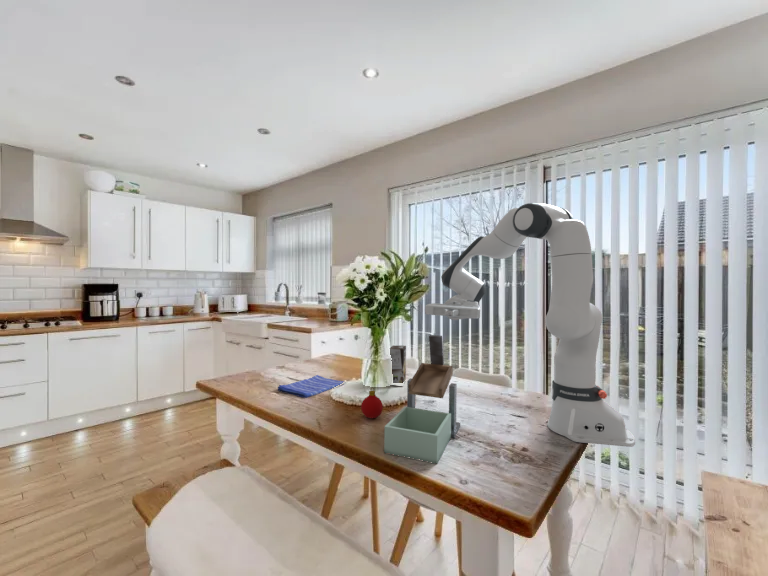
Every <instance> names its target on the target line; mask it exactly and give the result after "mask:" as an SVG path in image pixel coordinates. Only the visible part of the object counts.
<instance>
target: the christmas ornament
mask: <svg viewBox="0 0 768 576" xmlns="http://www.w3.org/2000/svg"><path fill="white" fill-rule="evenodd" d="M383 406H384V405H383V402H382V400H381V399H380V398H379V397H378V396H376V391H375V388H374V387H371V388H370V390H369V391H368V396H367V397H365V398H364V399H363V400H362V403H361V404H360V408H361V409H360V410H361V412H362V413H361V414H363V415H364V416H365V417H366V418H368V419H377V418H378V417H380V415H381V414H382V412H383V408H384V407H383Z"/></svg>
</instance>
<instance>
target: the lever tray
mask: <svg viewBox="0 0 768 576" xmlns="http://www.w3.org/2000/svg"><path fill="white" fill-rule="evenodd" d="M428 340H429V341H428V342H429V355H430V363H428V362H421V364H420V365H419V367H418V368H417V370H416V371H415V373H414V375H413V377H412V378H411V379H412V380H411V381H410V383H409V385H408V386H409V394H414V395H415V396H421V397H431V398H437V399H443V398H444V396H445V394H446V391H447V389H448V388H449V385H450V382H451V379H452V377H453V373H454V372H453V371H454V370H453V365H447V364H445V361H444V342H443V341H444V340H443V335H435V334H429V336H428Z"/></svg>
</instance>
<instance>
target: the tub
mask: <svg viewBox="0 0 768 576" xmlns="http://www.w3.org/2000/svg"><path fill="white" fill-rule="evenodd" d="M383 435H384V442H383V443H384V445H383V446H384V450H383V451H384V452H385V453H384V454H386V453H390V454H389V455H391V454H394V455H393V456H396V455H399V456H398V457H400V456H405V457H410V458H414V459H413V460H415V459H420V460H423V461H422V462H424V461H428V462H427V463H429V462H432V463H431V464H434V463H437V464H438V463H439V461H440V459H441V457H442V456H443V453H444V452H445V450H446V449H447V446H448V445H449V442H450V440H451V439H452V438H451V413H449V412H443V411H437V410H436V411H435V410H431V409H430V410H429V409H423V408H418V407H415V408H411V407H407V406H404V407H403V408H401V410H400V411H399V412H398V413H397V414H395V416H394V417H393V418H391V420H390V421H388V422H387V423H386V424H385V425H384V434H383ZM405 457H404V458H405ZM410 458H409V459H410Z"/></svg>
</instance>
